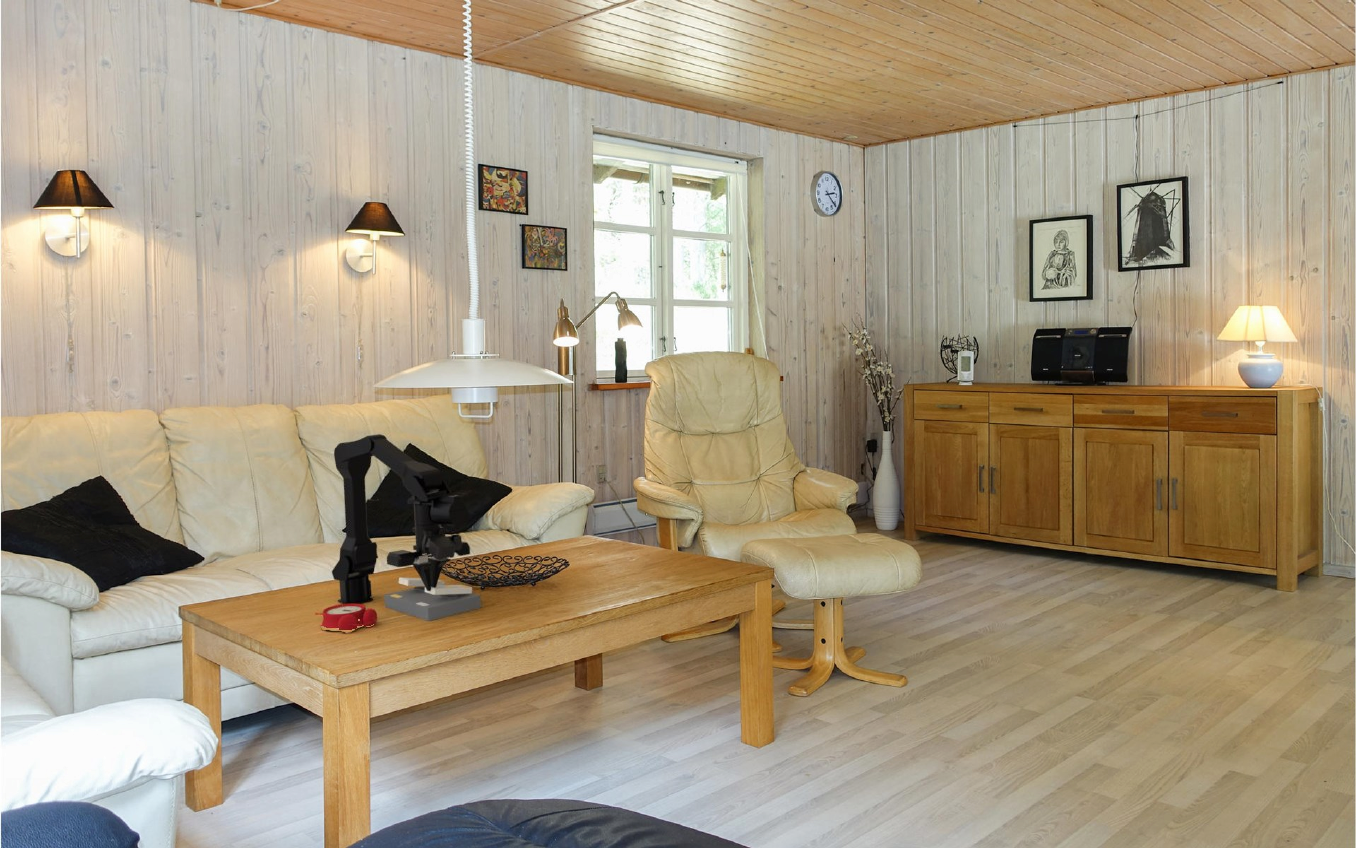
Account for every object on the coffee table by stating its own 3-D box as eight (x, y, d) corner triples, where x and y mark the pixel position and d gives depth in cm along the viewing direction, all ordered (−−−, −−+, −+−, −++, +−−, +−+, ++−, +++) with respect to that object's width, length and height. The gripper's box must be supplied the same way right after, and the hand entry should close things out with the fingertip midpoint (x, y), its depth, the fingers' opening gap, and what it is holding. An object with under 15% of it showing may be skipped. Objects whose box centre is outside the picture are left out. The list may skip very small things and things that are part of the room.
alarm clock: (347, 601, 237) (385, 595, 228) (353, 628, 237) (390, 623, 228) (307, 612, 229) (344, 606, 220) (313, 639, 229) (350, 634, 219)
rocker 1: (407, 585, 242) (408, 579, 242) (398, 583, 245) (399, 577, 245) (444, 587, 249) (445, 581, 249) (434, 584, 252) (435, 578, 252)
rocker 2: (434, 594, 233) (435, 588, 233) (424, 592, 236) (425, 585, 236) (471, 593, 240) (472, 587, 240) (461, 590, 243) (462, 584, 243)
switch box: (428, 621, 230) (427, 605, 230) (385, 607, 245) (384, 592, 244) (481, 607, 240) (480, 592, 240) (436, 595, 254) (435, 580, 254)
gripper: (408, 532, 222) (412, 603, 223) (481, 521, 235) (485, 587, 236) (383, 527, 230) (387, 596, 231) (455, 516, 243) (458, 581, 244)
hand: (431, 590), depth 235 cm, fingers closed
